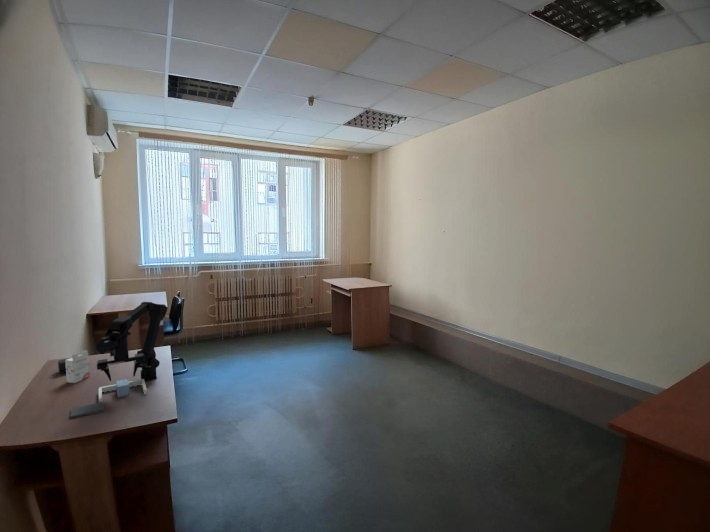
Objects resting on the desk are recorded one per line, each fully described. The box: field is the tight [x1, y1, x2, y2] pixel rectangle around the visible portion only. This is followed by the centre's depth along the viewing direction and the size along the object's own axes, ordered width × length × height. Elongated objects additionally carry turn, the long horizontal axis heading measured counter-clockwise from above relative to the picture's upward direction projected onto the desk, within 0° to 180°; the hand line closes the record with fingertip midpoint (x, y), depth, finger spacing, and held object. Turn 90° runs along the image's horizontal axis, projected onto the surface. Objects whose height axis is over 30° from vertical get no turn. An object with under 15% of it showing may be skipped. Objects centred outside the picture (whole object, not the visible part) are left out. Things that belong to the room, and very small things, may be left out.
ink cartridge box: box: [65, 349, 91, 384], centre depth 180 cm, size 9×5×15 cm, turn 168°
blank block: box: [115, 378, 130, 398], centre depth 166 cm, size 4×8×5 cm, turn 37°
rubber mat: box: [70, 401, 105, 420], centre depth 149 cm, size 11×8×1 cm
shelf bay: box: [98, 378, 148, 403], centre depth 166 cm, size 18×14×2 cm
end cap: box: [57, 358, 67, 374], centre depth 191 cm, size 10×7×7 cm
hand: (122, 378), depth 166 cm, fingers open, 9 cm apart
